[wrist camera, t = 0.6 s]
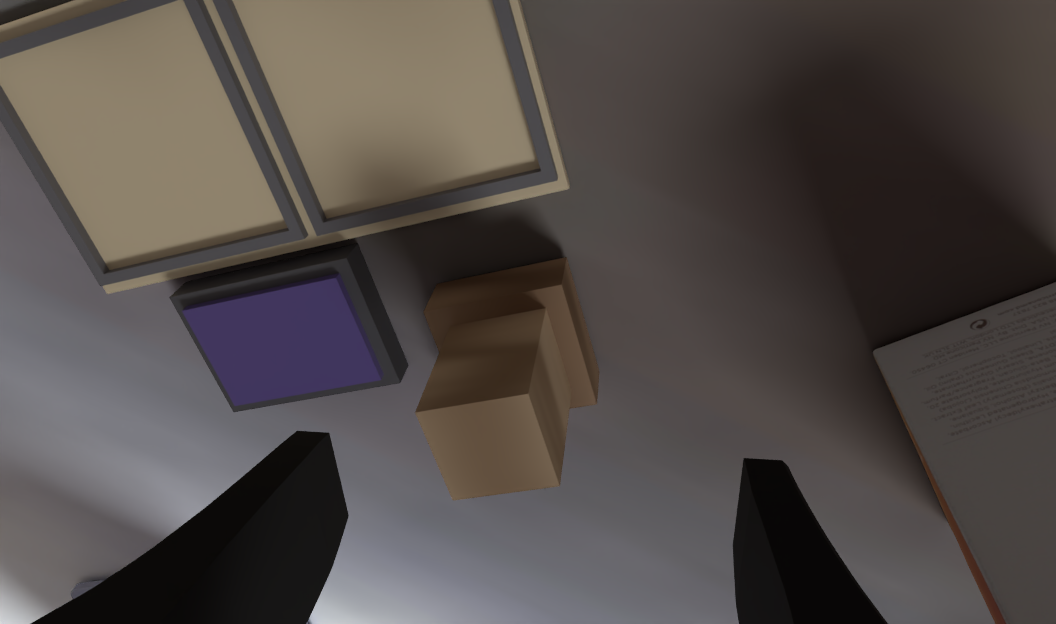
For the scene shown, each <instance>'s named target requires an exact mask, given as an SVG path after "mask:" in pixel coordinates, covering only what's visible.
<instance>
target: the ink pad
mask: <svg viewBox="0 0 1056 624" xmlns="http://www.w3.org/2000/svg"><path fill="white" fill-rule="evenodd" d="M169 298H170V299H171V301H172V303H173V305H174V306H175V308H176V310H177V312H178V314H179V315H180V317H181V319H182V321H183V323H184V324H185V326H186V328H187V330H188V331H189V333H190V335H191V337H192V339H193V340H194V342H195V344H196V346H197V348H198V349H199V351H200V353H201V355H202V356H203V358H204V360H205V362H206V364H207V365H208V367H209V369H210V371H211V373H212V374H213V376H214V378H215V380H216V381H217V383H218V385H219V387H220V389H221V390H222V392H223V394H224V396H225V398H226V399H227V401H228V403H229V405H230V407H231V408H232V410H233V412H238V411H243V410H249V409H255V408H260V407H266V406H272V405H277V404H283V403H289V402H295V401H300V400H306V399H312V398H317V397H323V396H329V395H334V394H340V393H346V392H352V391H357V390H363V389H369V388H374V387H380V386H386V385H391V384H397V383H400V382H401V380H402V378H403V376H404V374H405V372H406V369H407V367H408V363H407V361H406V358H405V356H404V353H403V351H402V349H401V346H400V344H399V342H398V339H397V337H396V334H395V332H394V330H393V327H392V325H391V322H390V320H389V318H388V315H387V313H386V310H385V308H384V306H383V303H382V301H381V299H380V296H379V294H378V291H377V289H376V287H375V284H374V282H373V279H372V277H371V275H370V272H369V270H368V267H367V265H366V263H365V260H364V258H363V256H362V253H361V251H360V248H359V246H358V244H353V245H349V246H344V247H340V248H336V249H331V250H327V251H322V252H318V253H313V254H309V255H305V256H300V257H296V258H291V259H287V260H282V261H278V262H274V263H269V264H265V265H260V266H256V267H251V268H247V269H243V270H238V271H234V272H229V273H225V274H220V275H216V276H212V277H207V278H203V279H198V280H194V281H189V282H186V283H185V284H183V285H182V286H181V287H180V288H179V289H178V290H177V291H176V292H175V293H174V294H173V295H171V296H170V297H169Z"/></svg>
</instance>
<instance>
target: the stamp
mask: <svg viewBox="0 0 1056 624" xmlns="http://www.w3.org/2000/svg"><path fill="white" fill-rule="evenodd" d="M424 315H425V317H426V320H427V323H428V325H429V328H430V330H431V333H432V335H433V338H434V340H435V343H436V345H437V348H438V350H439V355H438V358H437V360H436V363H435V365H434V368H433V370H432V372H431V375H430V377H429V380H428V382H427V385H426V387H425V390H424V392H423V395H422V397H421V399H420V402H419V404H418V407H417V409H416V412H415V413H416V416H417V418H418V420H419V423H420V425H421V427H422V430H423V432H424V434H425V437H426V439H427V441H428V444H429V446H430V448H431V451H432V453H433V455H434V458H435V460H436V462H437V465H438V467H439V469H440V472H441V474H442V476H443V479H444V481H445V483H446V486H447V488H448V490H449V493H450V495H451V497H452V500H460V499H467V498H475V497H482V496H490V495H497V494H505V493H512V492H520V491H527V490H535V489H542V488H549V487H557V486H560V480H561V472H562V464H563V456H564V448H565V440H566V432H567V424H568V416H569V409H570V408H577V407H583V406H589V405H596V404H597V396H598V383H599V369H598V365H597V362H596V358H595V355H594V351H593V348H592V344H591V341H590V337H589V334H588V330H587V327H586V323H585V320H584V316H583V313H582V309H581V306H580V302H579V299H578V295H577V292H576V288H575V285H574V281H573V278H572V274H571V271H570V267H569V264H568V260H567V257H565V258H560V259H555V260H550V261H546V262H541V263H536V264H531V265H526V266H521V267H516V268H512V269H507V270H502V271H497V272H492V273H487V274H483V275H478V276H473V277H468V278H463V279H458V280H454V281H449V282H444V283H439V284H437V285H436V287H435V289H434V291H433V293H432V295H431V297H430V299H429V301H428V303H427V306H426V308H425V310H424Z"/></svg>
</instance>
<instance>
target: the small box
mask: <svg viewBox="0 0 1056 624" xmlns="http://www.w3.org/2000/svg"><path fill="white" fill-rule="evenodd" d="M873 356H874V359H875V361H876V363H877V364H878V367H879V369H880V371H881V373H882V375H883V377H884V379H885V382H886V384H887V386H888V388H889V390H890V393H891V395H892V397H893V399H894V401H895V404H896V406H897V408H898V410H899V412H900V415H901V417H902V419H903V421H904V423H905V426H906V428H907V430H908V432H909V434H910V437H911V439H912V441H913V443H914V446H915V448H916V450H917V452H918V454H919V457H920V459H921V461H922V463H923V466H924V468H925V470H926V473H927V475H928V477H929V480H930V482H931V484H932V486H933V489H934V491H935V493H936V496H937V498H938V500H939V502H940V505H941V507H942V509H943V512H944V514H945V516H946V518H947V521H948V523H949V525H950V527H951V529H952V531H953V533H954V535H955V537H956V539H957V541H958V543H959V546H960V548H961V550H962V552H963V555H964V557H965V559H966V562H967V564H968V566H969V568H970V570H971V572H972V574H973V577H974V579H975V581H976V583H977V585H978V587H979V589H980V592H981V594H982V596H983V598H984V600H985V602H986V604H987V607H988V609H989V611H990V613H991V615H992V617H993V619H994V622H995V624H1056V282H1055V283H1052V284H1049V285H1047V286H1044V287H1041V288H1039V289H1036V290H1034V291H1031V292H1028V293H1025V294H1023V295H1020V296H1017V297H1014V298H1012V299H1009V300H1006V301H1004V302H1001V303H998V304H995V305H993V306H990V307H987V308H985V309H982V310H980V311H977V312H975V313H972V314H969V315H966V316H964V317H961V318H958V319H956V320H953V321H950V322H948V323H945V324H942V325H940V326H937V327H934V328H932V329H929V330H926V331H923V332H921V333H918V334H915V335H913V336H910V337H907V338H905V339H902V340H900V341H897V342H894V343H892V344H889V345H886V346H883V347H881V348H877V349H876V350H874V351H873Z"/></svg>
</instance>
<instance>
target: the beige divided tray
mask: <svg viewBox="0 0 1056 624" xmlns="http://www.w3.org/2000/svg"><path fill="white" fill-rule="evenodd" d="M0 120H1V122H2V124H3V125H4V127H5V129H6V130H7V132H8V134H9V135H10V137H11V139H12V140H13V142H14V144H15V145H16V147H17V149H18V150H19V152H20V154H21V155H22V157H23V159H24V160H25V162H26V164H27V165H28V167H29V169H30V170H31V172H32V174H33V175H34V177H35V179H36V180H37V182H38V184H39V185H40V187H41V189H42V190H43V192H44V193H45V195H46V197H47V198H48V200H49V202H50V203H51V205H52V207H53V208H54V210H55V212H56V213H57V215H58V217H59V218H60V220H61V222H62V223H63V225H64V227H65V228H66V230H67V232H68V233H69V235H70V237H71V238H72V240H73V242H74V243H75V245H76V247H77V248H78V250H79V252H80V253H81V255H82V257H83V258H84V260H85V262H86V263H87V265H88V267H89V268H90V270H91V272H92V273H93V275H94V277H95V278H96V280H97V282H98V283H99V285H100V286H103V288H104V289H105V291H106V293H107V294H110V293H114V292H119V291H123V290H127V289H132V288H136V287H141V286H145V285H149V284H154V283H158V282H163V281H167V280H171V279H176V278H180V277H184V276H189V275H193V274H198V273H202V272H206V271H211V270H215V269H220V268H224V267H228V266H233V265H237V264H242V263H246V262H250V261H255V260H259V259H263V258H268V257H272V256H277V255H281V254H285V253H290V252H294V251H299V250H303V249H307V248H312V247H316V246H321V245H325V244H329V243H334V242H338V241H342V240H347V239H351V238H356V237H360V236H364V235H369V234H373V233H378V232H382V231H386V230H391V229H395V228H400V227H404V226H408V225H413V224H417V223H421V222H426V221H430V220H435V219H439V218H443V217H448V216H452V215H457V214H461V213H465V212H470V211H474V210H478V209H483V208H487V207H492V206H496V205H500V204H505V203H509V202H514V201H518V200H522V199H527V198H531V197H536V196H540V195H544V194H549V193H553V192H557V191H562V190H566V189H569V187H570V183H569V180H568V176H567V172H566V169H565V165H564V161H563V158H562V154H561V150H560V147H559V143H558V139H557V135H556V132H555V128H554V124H553V121H552V117H551V113H550V110H549V106H548V102H547V99H546V95H545V91H544V88H543V84H542V80H541V76H540V73H539V69H538V65H537V62H536V58H535V54H534V51H533V47H532V43H531V40H530V36H529V32H528V29H527V25H526V21H525V17H524V14H523V10H522V6H521V3H520V0H73V1H70V2H68V3H65V4H62V5H59V6H56V7H53V8H50V9H47V10H44V11H41V12H38V13H35V14H32V15H29V16H27V17H24V18H21V19H18V20H15V21H12V22H9V23H6V24H3V25H0Z"/></svg>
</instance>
